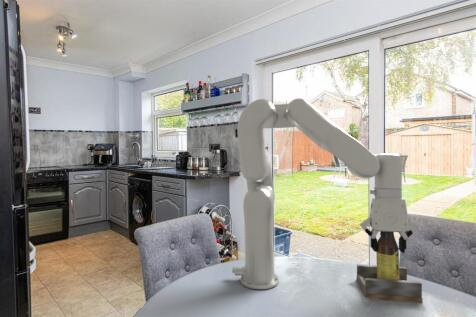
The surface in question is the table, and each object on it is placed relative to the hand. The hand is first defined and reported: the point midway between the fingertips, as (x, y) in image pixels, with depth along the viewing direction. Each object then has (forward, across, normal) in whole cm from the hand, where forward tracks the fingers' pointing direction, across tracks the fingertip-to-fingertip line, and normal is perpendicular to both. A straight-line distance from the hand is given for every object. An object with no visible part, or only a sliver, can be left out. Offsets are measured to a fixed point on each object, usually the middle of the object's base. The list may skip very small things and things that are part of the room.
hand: (388, 250), depth 94 cm
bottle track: (+12, 0, 0) cm, 12 cm away
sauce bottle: (+11, 0, 0) cm, 11 cm away
